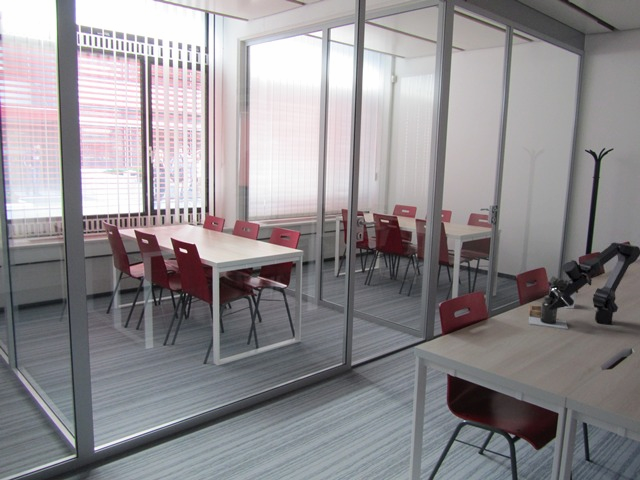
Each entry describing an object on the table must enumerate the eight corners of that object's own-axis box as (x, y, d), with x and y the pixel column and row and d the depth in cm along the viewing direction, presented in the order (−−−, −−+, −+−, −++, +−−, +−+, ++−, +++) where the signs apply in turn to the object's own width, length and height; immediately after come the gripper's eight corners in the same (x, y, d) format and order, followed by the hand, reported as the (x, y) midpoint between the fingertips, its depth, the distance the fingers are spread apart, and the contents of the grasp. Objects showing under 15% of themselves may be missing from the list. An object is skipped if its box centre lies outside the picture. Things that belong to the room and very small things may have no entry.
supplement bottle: (552, 320, 239) (555, 295, 237) (558, 324, 232) (561, 299, 230) (537, 319, 239) (540, 294, 237) (542, 323, 233) (545, 298, 231)
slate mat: (565, 322, 238) (565, 321, 238) (567, 329, 228) (568, 328, 228) (528, 317, 243) (528, 316, 243) (529, 324, 233) (529, 323, 233)
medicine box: (573, 308, 261) (575, 292, 260) (565, 308, 261) (567, 291, 260) (566, 304, 269) (568, 288, 268) (558, 303, 269) (560, 287, 268)
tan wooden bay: (551, 313, 252) (552, 307, 251) (553, 319, 241) (554, 313, 241) (528, 310, 255) (529, 304, 255) (529, 316, 245) (530, 310, 244)
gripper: (556, 267, 240) (529, 288, 243) (569, 276, 222) (540, 298, 225) (572, 284, 240) (544, 305, 244) (586, 294, 222) (557, 317, 225)
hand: (546, 306), depth 234 cm, fingers open, 9 cm apart
